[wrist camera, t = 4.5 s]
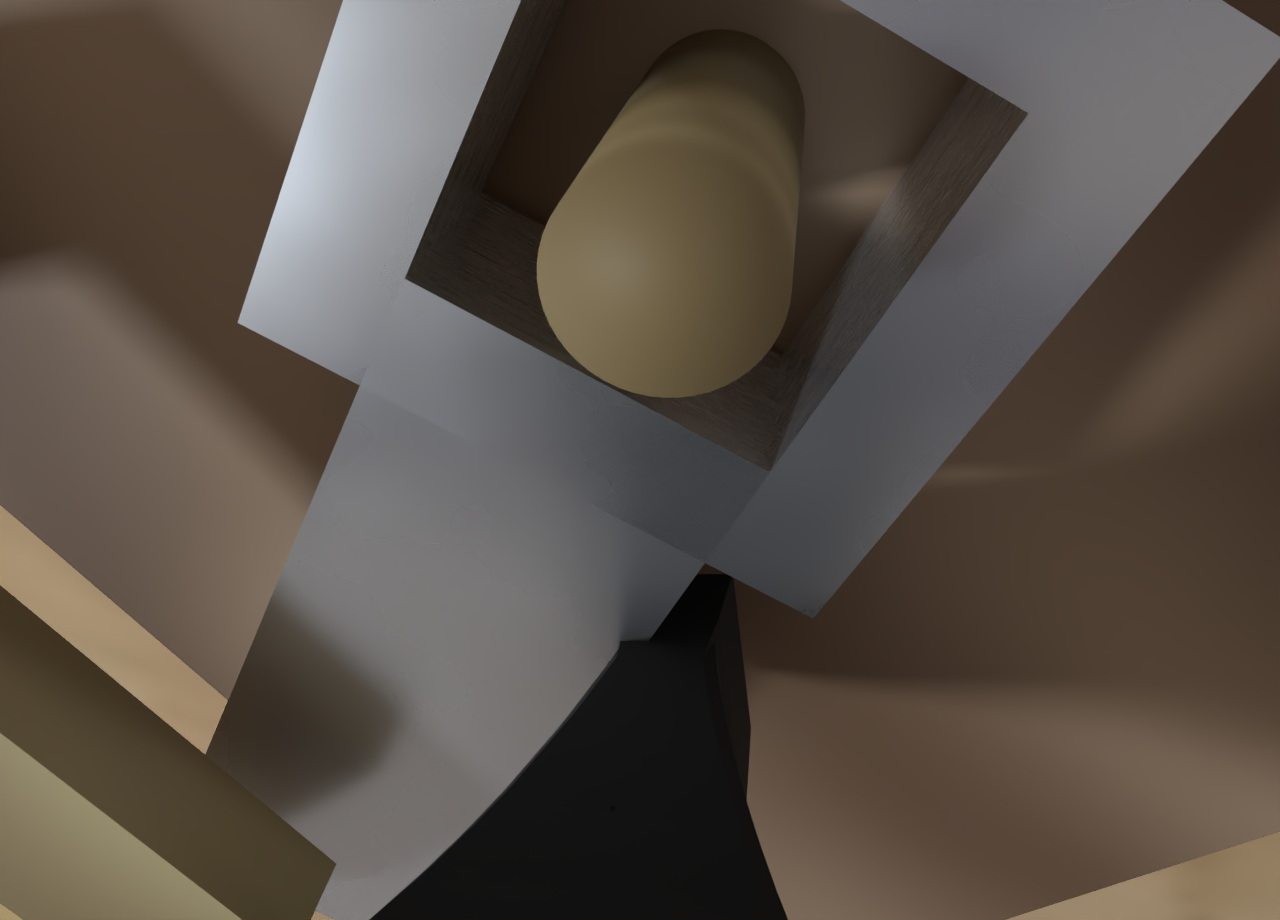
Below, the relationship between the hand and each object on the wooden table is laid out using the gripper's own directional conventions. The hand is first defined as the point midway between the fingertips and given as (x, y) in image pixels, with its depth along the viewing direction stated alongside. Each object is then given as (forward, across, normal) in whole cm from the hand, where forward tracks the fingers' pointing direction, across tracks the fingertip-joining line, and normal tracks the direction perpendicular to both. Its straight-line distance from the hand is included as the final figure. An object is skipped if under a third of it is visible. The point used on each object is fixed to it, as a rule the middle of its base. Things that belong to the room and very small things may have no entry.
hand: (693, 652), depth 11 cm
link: (+1, +1, -2) cm, 3 cm away
